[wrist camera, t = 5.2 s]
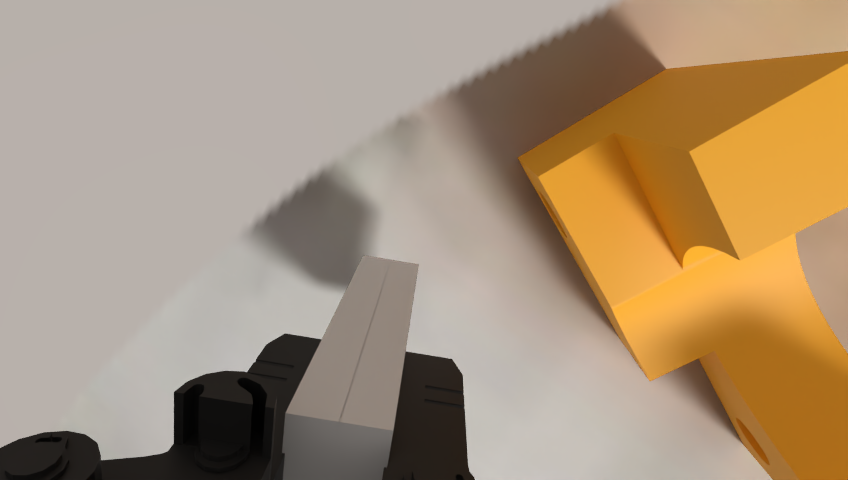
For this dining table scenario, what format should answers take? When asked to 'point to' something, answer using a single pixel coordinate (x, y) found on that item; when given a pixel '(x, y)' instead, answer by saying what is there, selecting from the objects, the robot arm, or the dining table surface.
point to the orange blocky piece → (718, 239)
